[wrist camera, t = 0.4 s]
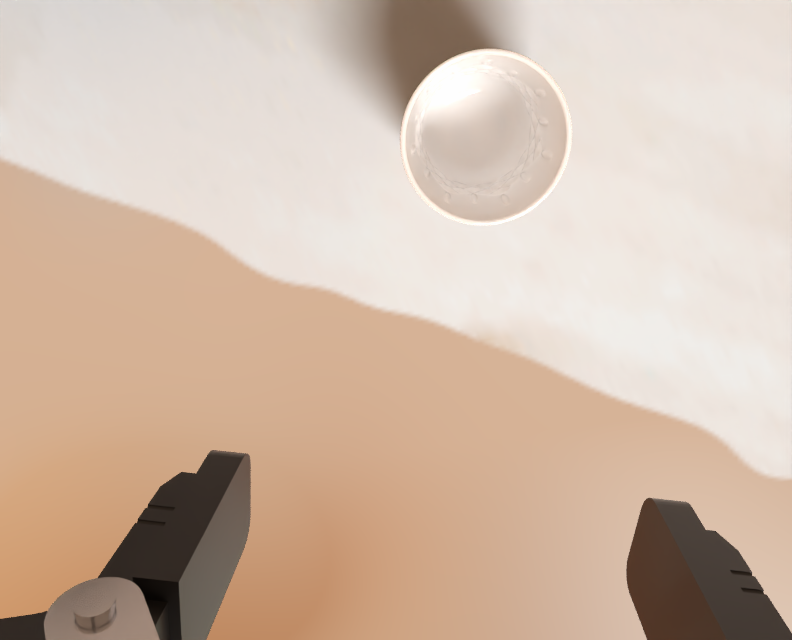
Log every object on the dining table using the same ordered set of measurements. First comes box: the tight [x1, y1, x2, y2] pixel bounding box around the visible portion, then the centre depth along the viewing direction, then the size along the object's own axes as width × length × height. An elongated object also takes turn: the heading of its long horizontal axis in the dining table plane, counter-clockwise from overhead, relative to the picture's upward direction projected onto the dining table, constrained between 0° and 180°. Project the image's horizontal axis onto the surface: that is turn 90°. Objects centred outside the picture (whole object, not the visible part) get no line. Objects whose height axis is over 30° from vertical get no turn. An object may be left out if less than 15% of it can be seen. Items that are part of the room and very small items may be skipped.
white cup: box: [400, 48, 572, 225], centre depth 33 cm, size 8×8×10 cm
